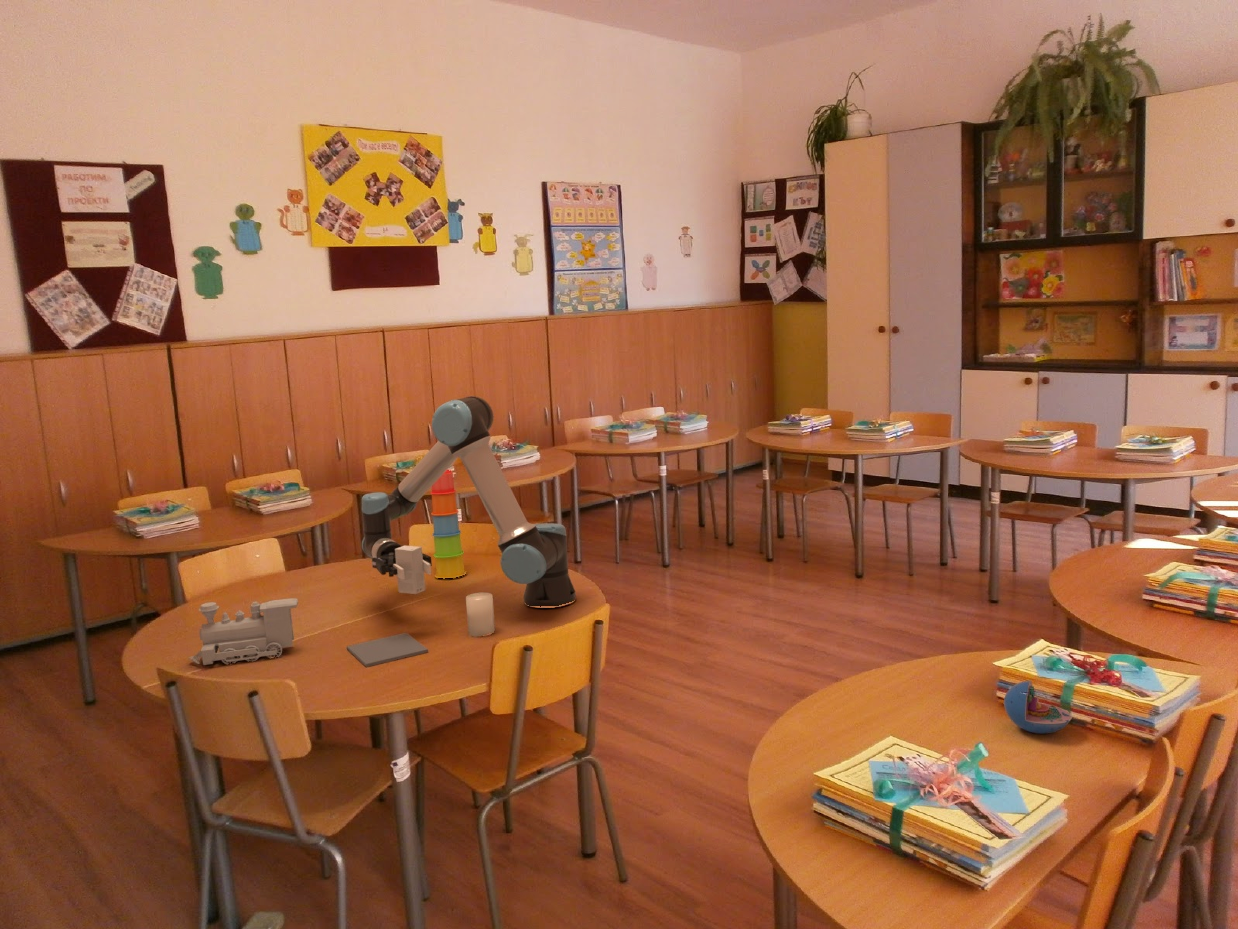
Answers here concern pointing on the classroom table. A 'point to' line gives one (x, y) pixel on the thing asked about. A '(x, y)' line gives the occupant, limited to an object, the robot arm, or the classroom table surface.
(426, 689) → the classroom table surface
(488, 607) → the white pillar candle
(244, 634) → the toy train
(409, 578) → the skincare box
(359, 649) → the felt mat
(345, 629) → the classroom table surface
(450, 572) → the stacking cups
